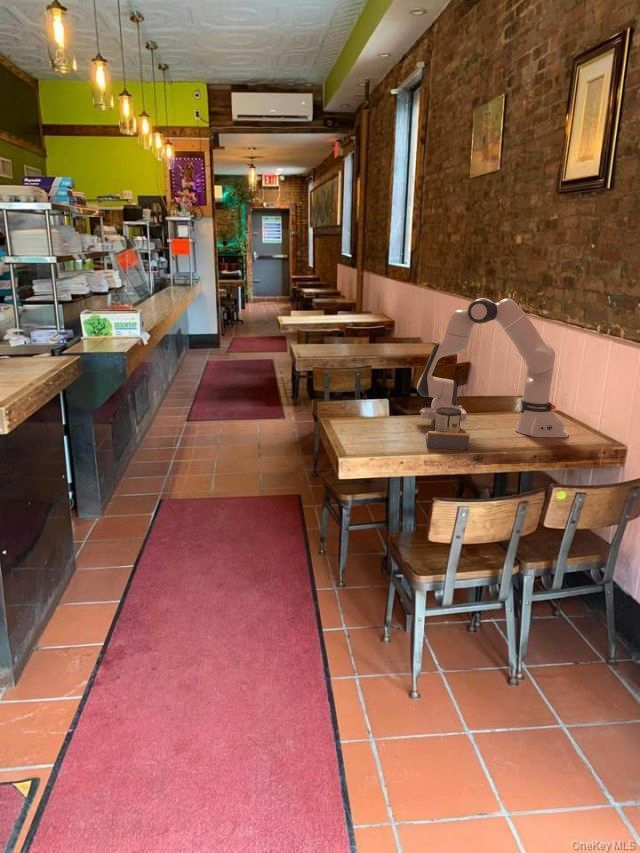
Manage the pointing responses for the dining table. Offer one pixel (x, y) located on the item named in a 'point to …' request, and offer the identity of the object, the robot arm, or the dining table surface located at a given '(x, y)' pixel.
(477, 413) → the dining table surface
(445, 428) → the coffee can
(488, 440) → the dining table surface
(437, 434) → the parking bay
